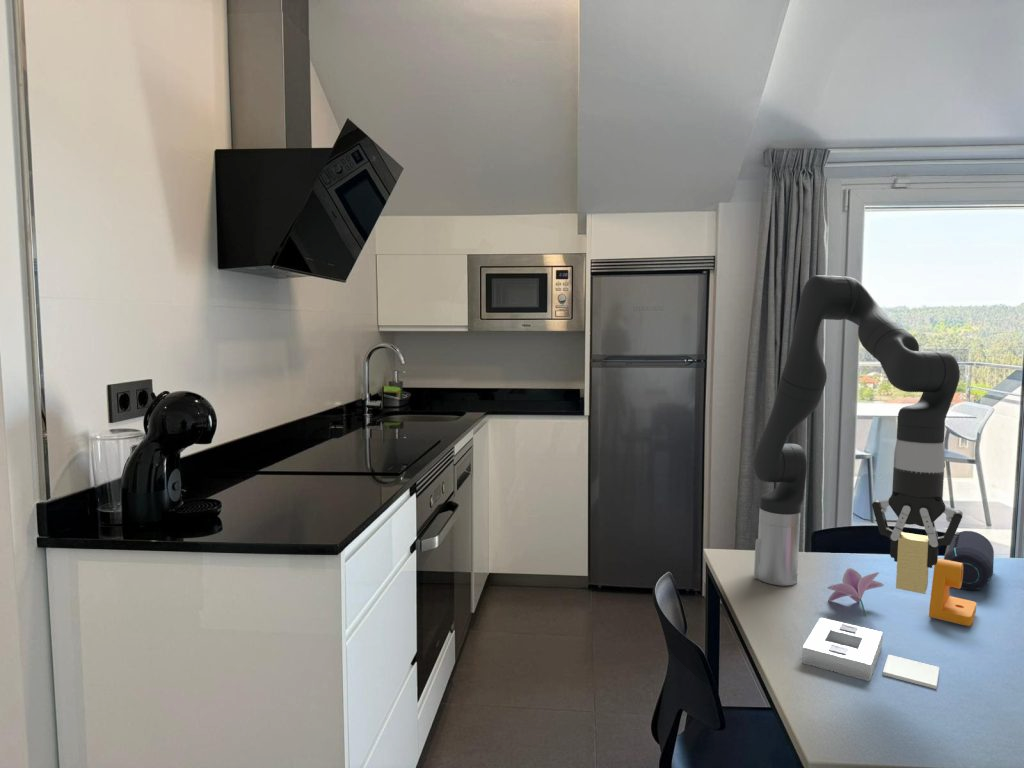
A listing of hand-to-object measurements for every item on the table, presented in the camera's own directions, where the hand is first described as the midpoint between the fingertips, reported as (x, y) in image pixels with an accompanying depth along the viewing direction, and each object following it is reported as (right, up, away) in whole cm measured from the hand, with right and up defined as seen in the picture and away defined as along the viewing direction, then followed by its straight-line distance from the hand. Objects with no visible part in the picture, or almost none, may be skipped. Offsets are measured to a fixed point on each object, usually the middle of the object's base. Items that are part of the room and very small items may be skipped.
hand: (913, 563), depth 118 cm
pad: (0, -20, +1) cm, 20 cm away
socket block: (-9, -19, +8) cm, 22 cm away
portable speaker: (+43, -17, +50) cm, 68 cm away
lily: (+5, -18, +30) cm, 35 cm away
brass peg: (0, -4, 0) cm, 4 cm away
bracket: (+24, -19, +26) cm, 40 cm away
